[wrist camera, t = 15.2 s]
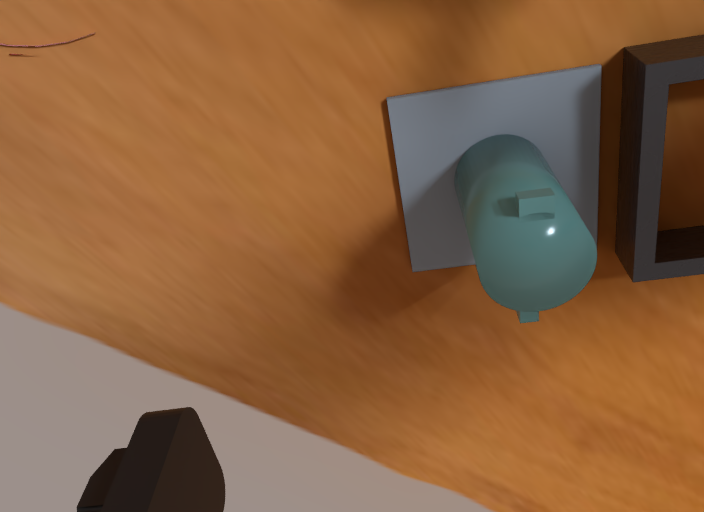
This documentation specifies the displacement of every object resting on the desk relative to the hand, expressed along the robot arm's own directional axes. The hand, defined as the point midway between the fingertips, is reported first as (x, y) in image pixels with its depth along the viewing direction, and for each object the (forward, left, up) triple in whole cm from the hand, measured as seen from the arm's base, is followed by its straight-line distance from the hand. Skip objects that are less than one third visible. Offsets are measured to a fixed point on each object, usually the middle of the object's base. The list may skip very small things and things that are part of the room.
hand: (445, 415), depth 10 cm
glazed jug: (-5, +10, -29) cm, 31 cm away
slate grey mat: (-5, +10, -30) cm, 32 cm away
